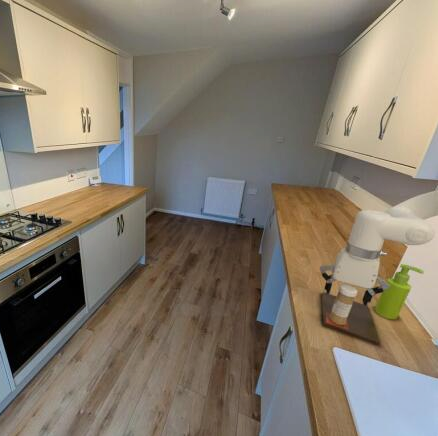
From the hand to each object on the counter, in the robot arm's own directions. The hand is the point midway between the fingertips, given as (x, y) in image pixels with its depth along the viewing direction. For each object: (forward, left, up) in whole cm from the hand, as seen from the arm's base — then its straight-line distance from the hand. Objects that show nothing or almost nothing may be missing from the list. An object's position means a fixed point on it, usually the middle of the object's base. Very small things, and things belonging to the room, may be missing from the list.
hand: (345, 297), depth 78 cm
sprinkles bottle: (0, 0, -10) cm, 10 cm away
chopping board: (-7, -2, -11) cm, 13 cm away
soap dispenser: (-23, -1, -11) cm, 26 cm away
